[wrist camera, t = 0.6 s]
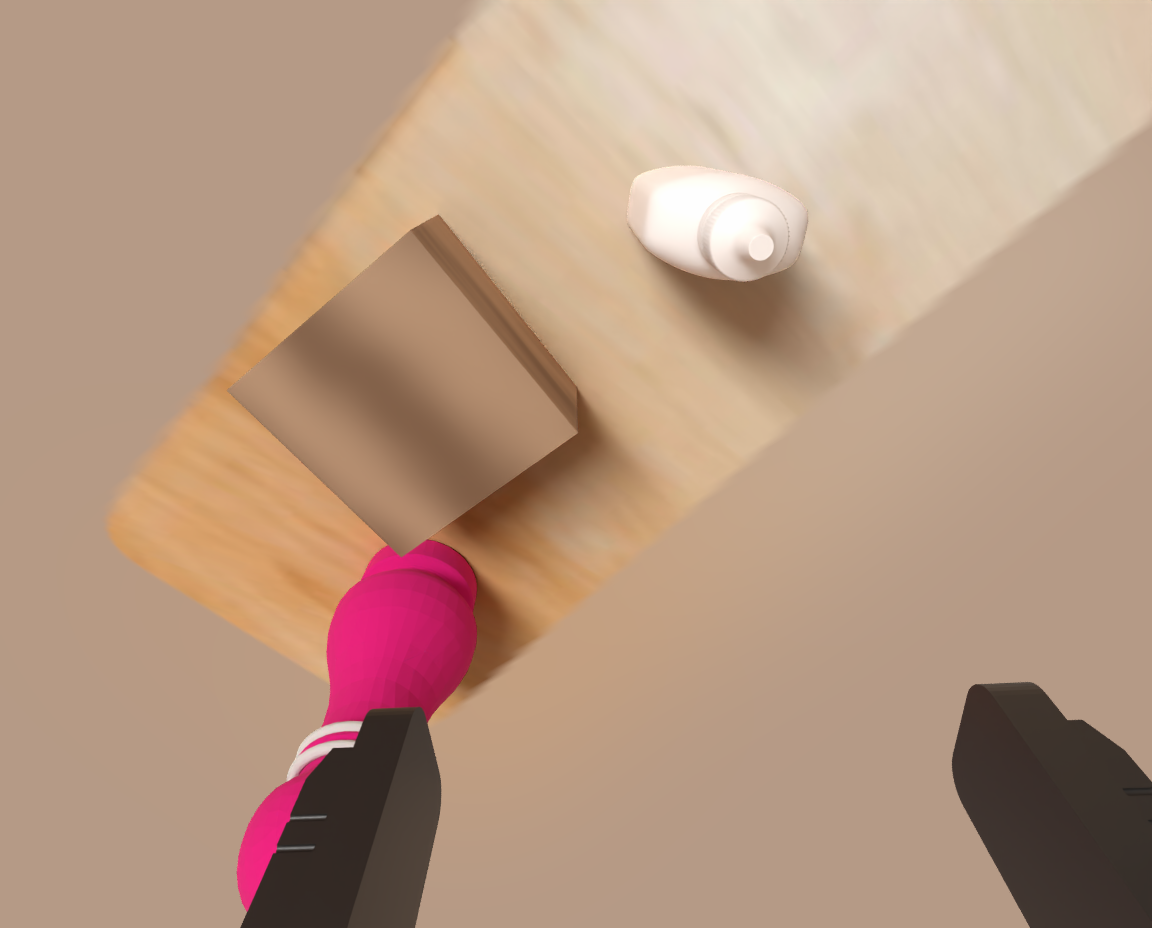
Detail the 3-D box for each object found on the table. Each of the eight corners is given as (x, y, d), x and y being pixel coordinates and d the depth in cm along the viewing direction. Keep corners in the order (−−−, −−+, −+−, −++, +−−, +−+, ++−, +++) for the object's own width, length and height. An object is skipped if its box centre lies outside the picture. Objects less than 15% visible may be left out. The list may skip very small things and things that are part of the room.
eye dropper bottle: (706, 287, 31) (780, 366, 20) (609, 211, 29) (632, 252, 19) (772, 205, 29) (890, 243, 19) (673, 121, 28) (738, 108, 17)
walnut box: (439, 213, 30) (410, 230, 24) (576, 385, 33) (577, 432, 28) (284, 348, 32) (226, 390, 27) (426, 494, 36) (401, 557, 30)
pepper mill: (511, 596, 38) (460, 1001, 20) (415, 654, 40) (288, 1074, 22) (428, 506, 36) (284, 877, 18) (329, 571, 37) (106, 971, 19)
